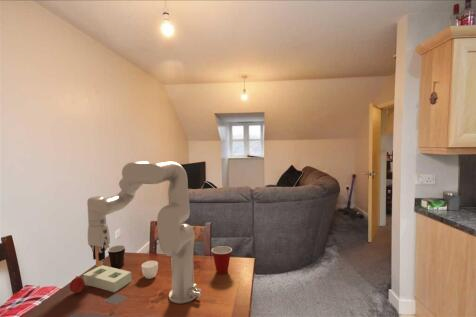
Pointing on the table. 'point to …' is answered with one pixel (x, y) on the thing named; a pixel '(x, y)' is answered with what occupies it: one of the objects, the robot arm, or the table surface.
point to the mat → (115, 299)
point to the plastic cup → (221, 258)
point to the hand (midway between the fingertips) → (99, 258)
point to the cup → (149, 269)
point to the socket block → (107, 278)
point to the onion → (77, 285)
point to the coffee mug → (117, 256)
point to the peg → (98, 263)
